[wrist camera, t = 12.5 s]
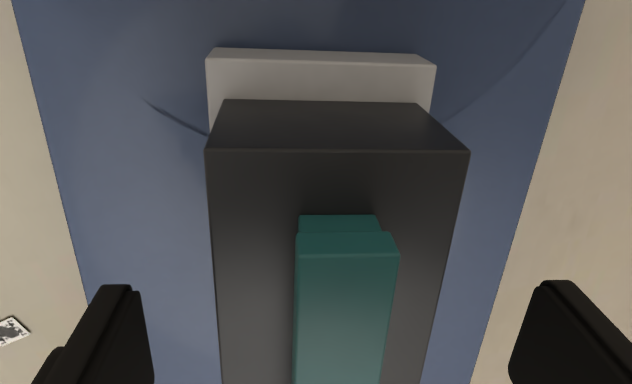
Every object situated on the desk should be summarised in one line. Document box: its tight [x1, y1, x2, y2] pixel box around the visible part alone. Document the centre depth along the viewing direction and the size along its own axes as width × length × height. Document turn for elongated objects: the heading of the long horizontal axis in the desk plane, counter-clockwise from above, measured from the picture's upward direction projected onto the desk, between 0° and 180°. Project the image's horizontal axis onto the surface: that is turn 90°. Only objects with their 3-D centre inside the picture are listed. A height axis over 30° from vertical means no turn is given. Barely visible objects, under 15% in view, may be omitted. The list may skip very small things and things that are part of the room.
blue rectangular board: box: [11, 0, 585, 384], centre depth 16 cm, size 16×32×4 cm, turn 178°
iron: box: [203, 47, 471, 384], centre depth 12 cm, size 14×6×7 cm, turn 178°
